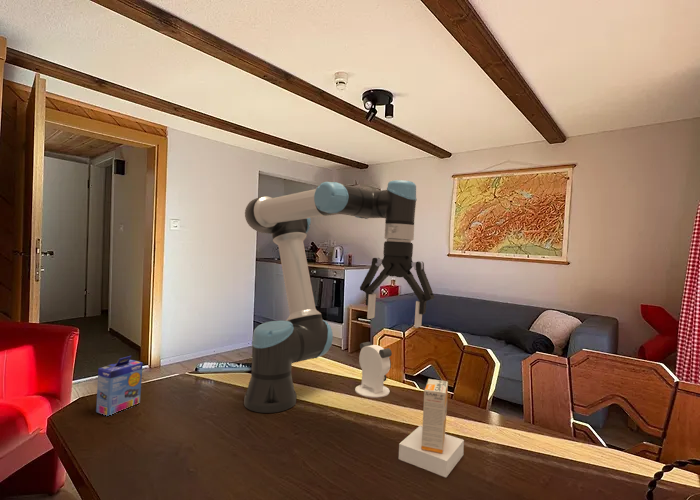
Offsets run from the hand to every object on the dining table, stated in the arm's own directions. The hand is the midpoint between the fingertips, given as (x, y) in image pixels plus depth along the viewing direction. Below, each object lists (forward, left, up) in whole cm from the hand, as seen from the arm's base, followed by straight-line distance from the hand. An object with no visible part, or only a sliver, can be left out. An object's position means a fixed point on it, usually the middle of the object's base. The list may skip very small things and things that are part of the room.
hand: (393, 322), depth 98 cm
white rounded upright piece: (-16, +21, -28) cm, 38 cm away
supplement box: (+14, -7, -25) cm, 29 cm away
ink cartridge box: (-66, -34, -28) cm, 80 cm away
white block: (+14, -6, -28) cm, 32 cm away
